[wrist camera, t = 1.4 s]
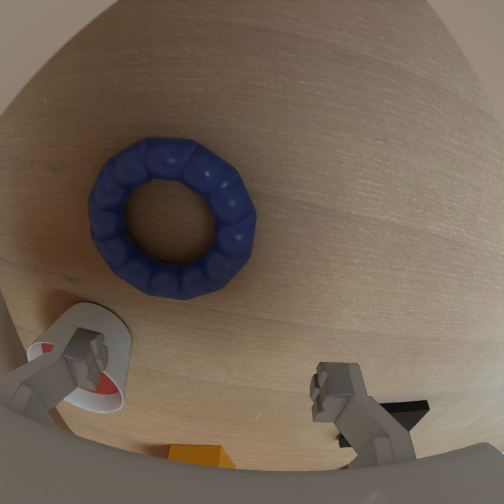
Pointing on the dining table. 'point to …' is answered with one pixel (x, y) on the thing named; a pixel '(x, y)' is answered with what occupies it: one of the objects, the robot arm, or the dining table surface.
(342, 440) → the black post stand
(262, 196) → the dining table surface
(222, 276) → the ring
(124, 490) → the robot arm
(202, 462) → the orange juice
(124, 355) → the candle
